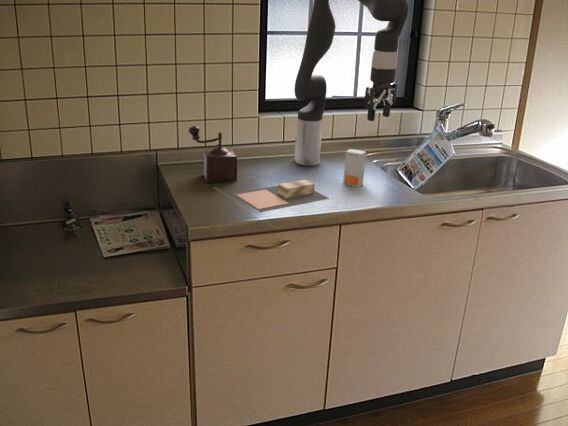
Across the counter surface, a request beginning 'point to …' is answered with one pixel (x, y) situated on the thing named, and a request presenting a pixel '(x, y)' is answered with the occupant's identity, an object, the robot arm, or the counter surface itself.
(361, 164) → the skincare box
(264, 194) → the rubber mat
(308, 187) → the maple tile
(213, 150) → the manual coffee grinder
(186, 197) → the counter surface
